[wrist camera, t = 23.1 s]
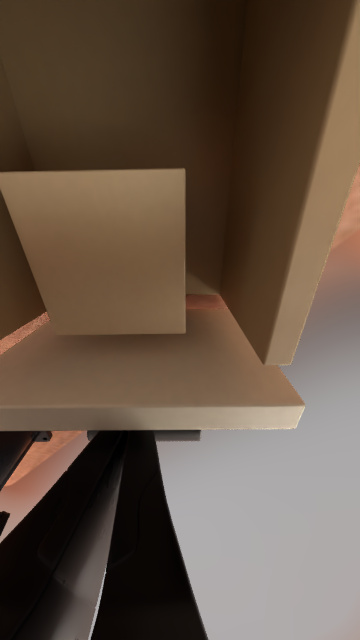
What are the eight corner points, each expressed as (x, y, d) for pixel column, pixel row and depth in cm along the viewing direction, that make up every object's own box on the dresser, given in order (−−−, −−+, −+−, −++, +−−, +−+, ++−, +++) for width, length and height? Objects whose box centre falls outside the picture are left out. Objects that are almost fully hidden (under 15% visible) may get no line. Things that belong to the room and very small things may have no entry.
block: (183, 292, 10) (185, 333, 6) (104, 294, 10) (55, 335, 6) (182, 197, 8) (185, 166, 4) (83, 199, 8) (-8, 170, 4)
